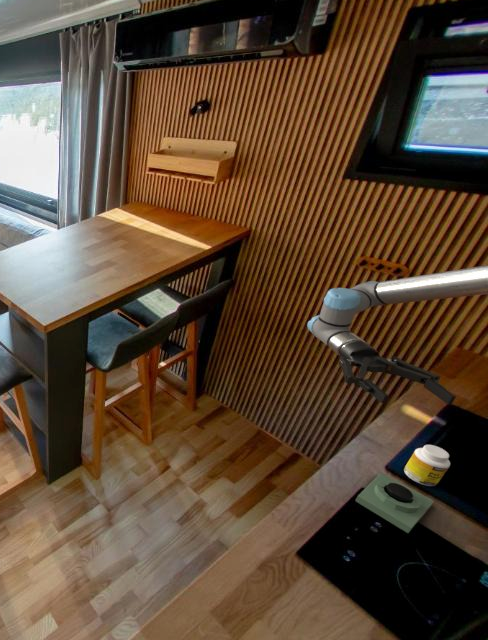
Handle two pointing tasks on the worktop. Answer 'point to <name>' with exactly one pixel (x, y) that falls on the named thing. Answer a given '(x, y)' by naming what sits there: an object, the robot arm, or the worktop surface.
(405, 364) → the robot arm
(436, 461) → the supplement bottle
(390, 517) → the button box
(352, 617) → the worktop surface
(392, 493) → the button
